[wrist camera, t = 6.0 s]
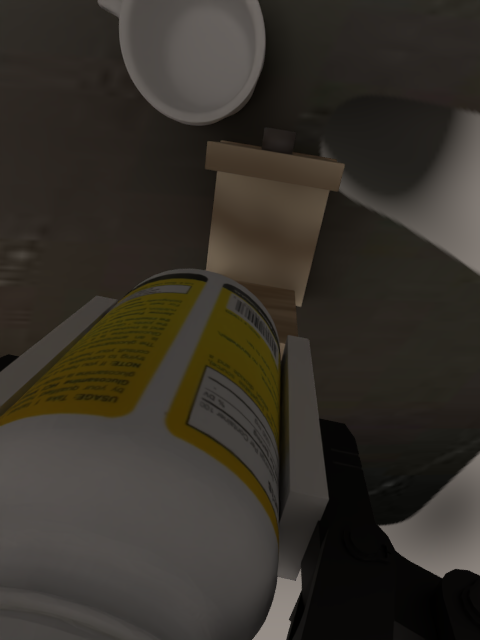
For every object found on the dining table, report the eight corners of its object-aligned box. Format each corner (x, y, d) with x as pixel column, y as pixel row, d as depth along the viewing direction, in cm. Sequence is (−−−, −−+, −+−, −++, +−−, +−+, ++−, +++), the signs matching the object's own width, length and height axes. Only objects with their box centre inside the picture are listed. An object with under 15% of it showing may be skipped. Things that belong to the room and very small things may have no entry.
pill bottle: (107, 381, 15) (-241, 844, 5) (133, 238, 12) (-504, 635, 2) (250, 428, 15) (186, 959, 5) (308, 298, 12) (398, 892, 3)
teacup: (290, 23, 23) (291, -11, 18) (240, 148, 26) (230, 148, 21) (140, -56, 22) (99, -114, 17) (108, 83, 25) (66, 68, 20)
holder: (224, 125, 26) (192, 113, 17) (338, 144, 25) (369, 142, 16) (205, 295, 31) (172, 355, 22) (298, 312, 31) (303, 380, 22)
